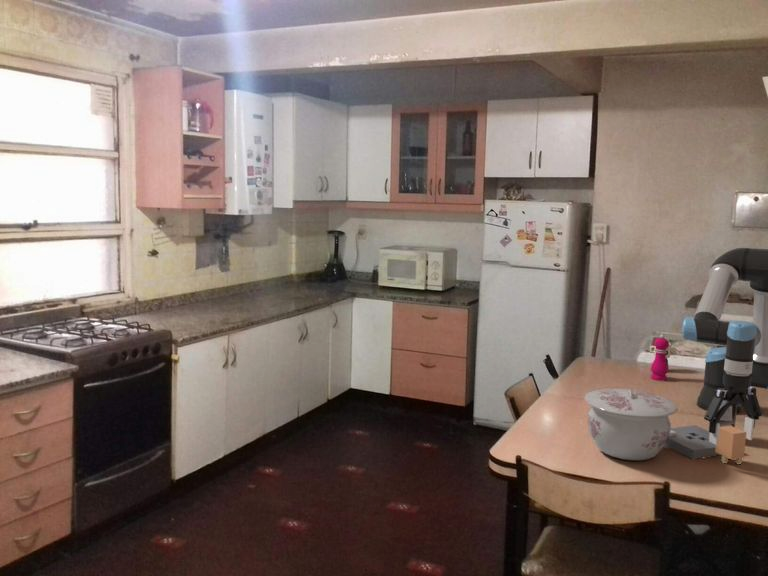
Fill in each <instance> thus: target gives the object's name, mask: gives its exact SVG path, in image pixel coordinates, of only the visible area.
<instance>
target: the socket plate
mask: <svg viewBox="0 0 768 576" xmlns="http://www.w3.org/2000/svg"><path fill="white" fill-rule="evenodd" d="M709 435H710V432H709V430H707V429H706V428H703V427H700V426H698V425H696V424H695V425H686V426H679V427H671V429H670V434H669V437H668V440H667V443H666V444H665V445H664V446H665V447H667V448H668V449H671V450H673V451H674V452H677V453H679V454H681V455H683V456H685V457H687V458H689V459H690V460H693V459H694V460H698V459H697V458H701V459H704V458H703V457H708V458H710V457H709V456H715V457H717V456H716V455H721V454H718V453H716V452H715V450H716V445H715V444H713V443H711V442H709Z"/></svg>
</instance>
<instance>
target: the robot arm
mask: <svg viewBox="0 0 768 576" xmlns="http://www.w3.org/2000/svg"><path fill="white" fill-rule="evenodd" d="M739 281H741V282H742V281H743V282H749V288H750V289H751V290H753V292H754V293H753V311H752V313H753V314H752V322H749V321H743V320H734V321H733V320H732V321H723V320H722V321H721V317H722V315H723V312H724V309H725V306H726V305H727V301H728V298H729V295H730V293H731V290H732V287H733V286H734V285H735V284H736V283H738V282H739ZM681 336H682V338H683V340H684V341H685V340H686V341H689V342H690V341H691V342H695V343H703V344H710V345H711V344H712V345H719V346H723V347H713V348H710V349H708V351H707V352H706V358H705V368H704V379H703V386H702V389H700V393H699V395H698V397H697V399H696V405H697V406H698V407H699V408H701V409H703V410H706V413H705V414H704V417H703V419H704V420H705V421H708V422H709V423H708V424H709V425H708V426H709V427H708V431H709V432H710V435H709V442H711V443H713V444H715V445H718V438H719V428H720V423H718V421H719V420H720V419H721V417H722V416H723V415H724V413H725V412H726V410H727V409H728V408H729V407H730V406H732V404H737V412H738V413H739V412H741V409H743V411H744V412H745V414H746V415H747V416H745V417H744V426H743V431H745V432H746V440H749V441H753V437H754V436H753V435H754V429H755V426H756V420H757V421H758V420H760V417H762V415H763V414H762V409H761V407H760V402H759V400H758V397H757V388H759V389H764V390H768V249H766V248H754V247H751V248H749V247H737V248H734V249H730V250H728V251H726V252H724V253H723V254H721V255H719V256H718V257H717V258H716V259H715V260H714V262H713V263H711V266H710V268H709V270H708V281H707V284H706V285H705V289H704V290H703V294H702V296H701V298H700V300H699V304H698V306H697V309H696V311H695V314H694V316H691V317H688V316H687V317H686V318H684V320H683V322H682V326H681ZM718 388H724V390H718ZM725 400H727V401H725ZM737 412H736V414H737ZM714 418H715V419H714Z"/></svg>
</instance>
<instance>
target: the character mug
mask: <svg viewBox="0 0 768 576" xmlns="http://www.w3.org/2000/svg"><path fill="white" fill-rule="evenodd" d="M655 348H656V347H655V346H654V345H650V346H649V352H650V353H651V354H652V353H653V356H654V357H655V356H656V352H655ZM671 351H672V352H671ZM671 356H676V348H675V347H672V343H670V342H669V346H668V348H667V353H666V357H665V359H666V363H667V365H668V366H669V358H671Z"/></svg>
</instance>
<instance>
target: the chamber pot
mask: <svg viewBox="0 0 768 576" xmlns="http://www.w3.org/2000/svg"><path fill="white" fill-rule="evenodd" d="M584 401H585V402H586V403H587V404H588V405H589V406H591V407H590V408H589V409H588V415H587V424H588V425H587V426H588V432H589V435H590V436H591V438H592V440H593V442H594V444H595V445H596V447H597V448H598V449H599V450H600V451H601V452H602V453H604V454H606V455H608V456H610V457H613V458H616V459H619V460H625V461H635V462H636V461H646V460H650V459H652V458H654V457H656V455H658V453H660V451H661V450H662V449H663V447H664V446H665V444H666V443H667V440H668V437H669V434H670V429H671V428H672V427H671V426H672V422H671V419H670V417H669V416H671V415H674V414H675V413H676V412H677V411H678V407H677V404H675V403H674V402H673V401H671V399H670V400H669V399H668V398H666V397H663V396H661V395H658V394H655V393H651V392H646V391H642V390H638V389H632V388H602V389H596V390H592V391H589V392H588V393H586V394H585V395H584Z"/></svg>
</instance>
